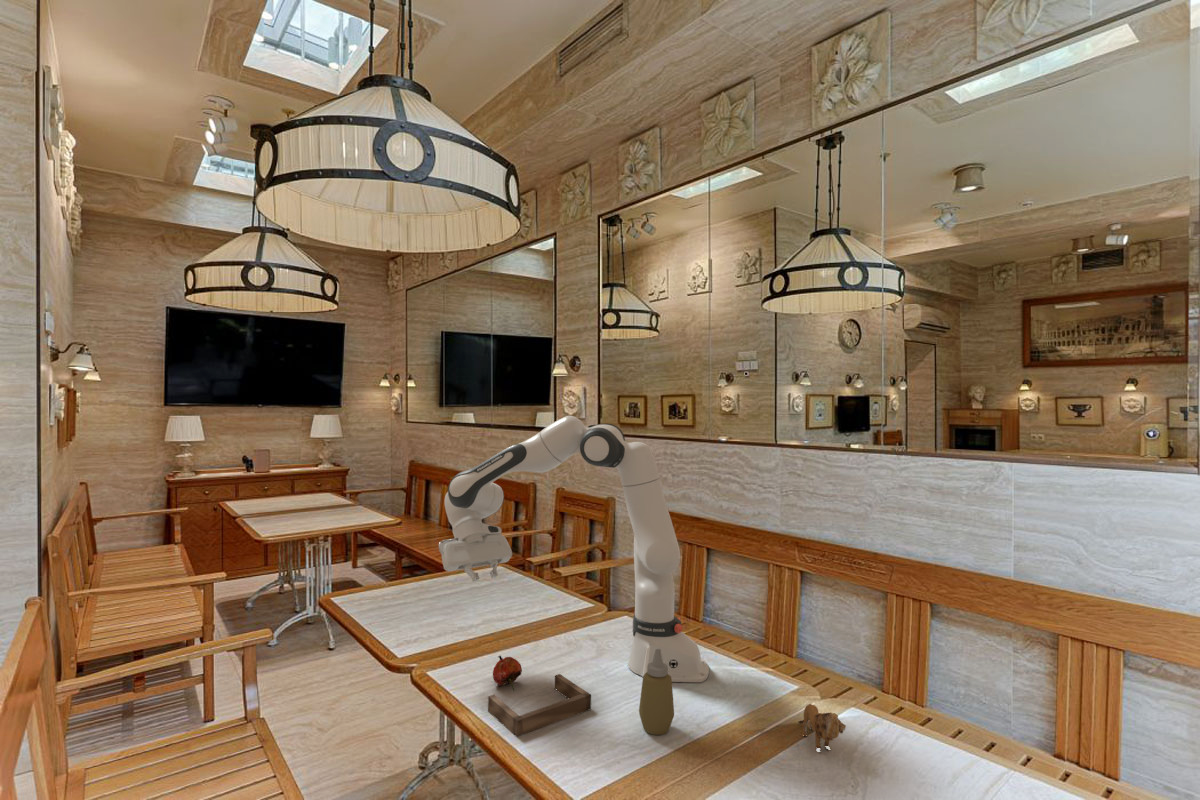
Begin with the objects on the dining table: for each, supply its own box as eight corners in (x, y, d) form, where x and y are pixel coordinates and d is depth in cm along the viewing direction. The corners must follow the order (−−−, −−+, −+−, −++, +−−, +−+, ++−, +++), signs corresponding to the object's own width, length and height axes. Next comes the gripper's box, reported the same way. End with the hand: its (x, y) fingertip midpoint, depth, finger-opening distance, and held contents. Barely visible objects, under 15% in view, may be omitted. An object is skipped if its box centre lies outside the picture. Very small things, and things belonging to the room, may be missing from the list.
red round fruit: (525, 693, 157) (513, 658, 164) (529, 678, 153) (517, 643, 159) (497, 702, 154) (487, 666, 160) (501, 687, 149) (490, 651, 156)
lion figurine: (848, 759, 127) (849, 717, 127) (826, 763, 125) (827, 719, 125) (808, 723, 141) (808, 685, 141) (787, 725, 140) (788, 687, 140)
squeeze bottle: (672, 740, 132) (674, 659, 132) (636, 735, 134) (637, 655, 134) (675, 721, 140) (677, 644, 140) (640, 717, 142) (642, 641, 142)
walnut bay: (487, 710, 143) (488, 696, 143) (559, 687, 156) (559, 673, 156) (516, 736, 132) (517, 720, 132) (590, 709, 145) (591, 694, 145)
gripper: (440, 534, 167) (454, 578, 159) (505, 526, 179) (521, 566, 172) (433, 547, 170) (446, 590, 162) (497, 538, 183) (513, 578, 175)
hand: (485, 578), depth 167 cm, fingers open, 4 cm apart
